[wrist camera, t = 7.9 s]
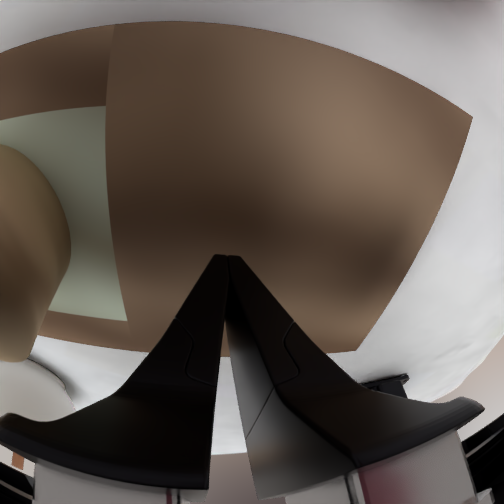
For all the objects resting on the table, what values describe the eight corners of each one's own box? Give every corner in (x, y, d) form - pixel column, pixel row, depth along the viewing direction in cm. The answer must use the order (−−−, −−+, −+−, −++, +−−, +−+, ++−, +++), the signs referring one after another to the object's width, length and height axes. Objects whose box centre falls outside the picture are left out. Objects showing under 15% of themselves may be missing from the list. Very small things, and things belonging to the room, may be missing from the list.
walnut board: (349, 335, 16) (355, 350, 15) (7, 311, 12) (0, 325, 11) (453, 109, 8) (472, 117, 7) (-50, 81, 4) (-66, 87, 3)
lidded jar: (60, 406, 21) (50, 480, 14) (-20, 353, 15) (-44, 432, 8) (111, 394, 19) (103, 497, 11) (3, 321, 13) (-36, 439, 5)
